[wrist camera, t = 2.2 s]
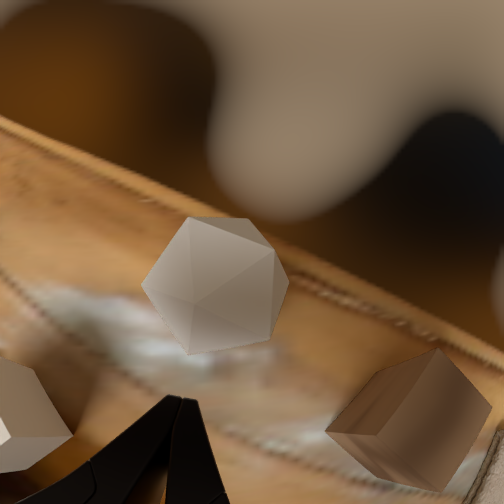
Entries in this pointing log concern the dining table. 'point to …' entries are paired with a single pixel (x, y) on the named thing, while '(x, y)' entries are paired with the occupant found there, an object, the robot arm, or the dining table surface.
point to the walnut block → (413, 422)
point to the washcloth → (490, 476)
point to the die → (217, 285)
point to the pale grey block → (26, 419)
